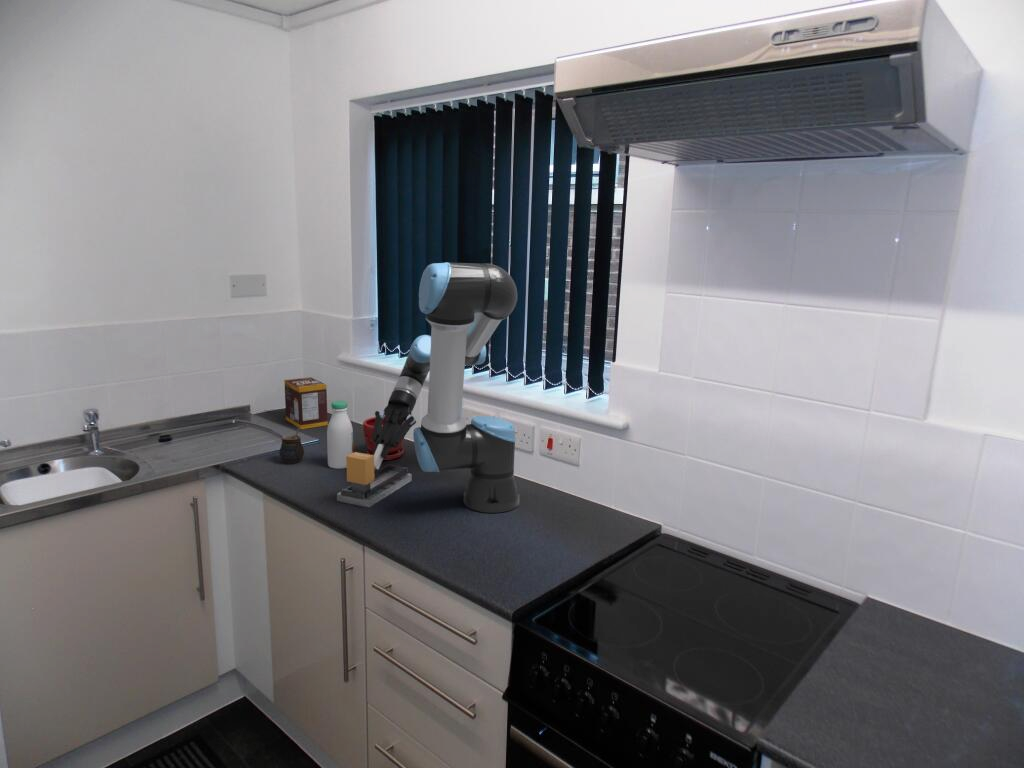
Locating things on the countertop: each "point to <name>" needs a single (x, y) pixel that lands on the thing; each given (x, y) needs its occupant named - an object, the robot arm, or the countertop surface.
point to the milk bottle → (339, 436)
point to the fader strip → (377, 486)
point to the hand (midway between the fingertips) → (374, 466)
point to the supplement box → (306, 402)
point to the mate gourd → (291, 449)
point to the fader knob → (360, 471)
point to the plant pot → (368, 432)
